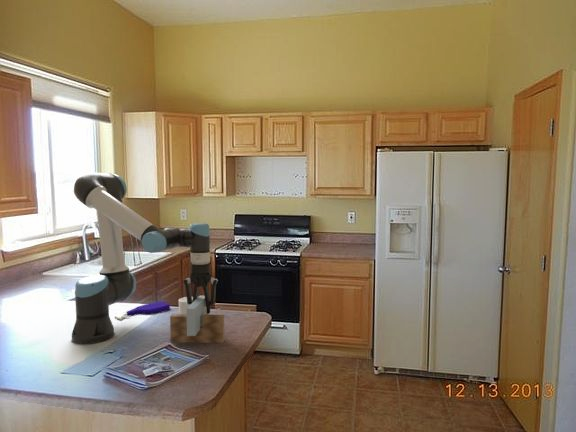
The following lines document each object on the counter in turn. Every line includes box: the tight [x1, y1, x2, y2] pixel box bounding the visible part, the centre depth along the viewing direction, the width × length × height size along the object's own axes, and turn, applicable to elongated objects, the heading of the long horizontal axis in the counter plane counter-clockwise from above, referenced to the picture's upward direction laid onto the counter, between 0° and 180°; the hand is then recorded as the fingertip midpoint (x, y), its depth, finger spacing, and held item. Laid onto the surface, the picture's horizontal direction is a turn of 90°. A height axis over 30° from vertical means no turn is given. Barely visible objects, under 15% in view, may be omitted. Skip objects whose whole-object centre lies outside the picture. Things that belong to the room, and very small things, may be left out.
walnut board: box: [169, 313, 225, 344], centre depth 159 cm, size 20×3×10 cm, turn 87°
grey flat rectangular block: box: [186, 295, 206, 336], centre depth 159 cm, size 3×18×10 cm, turn 177°
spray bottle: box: [114, 301, 171, 321], centre depth 195 cm, size 3×11×24 cm
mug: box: [178, 296, 199, 314], centre depth 179 cm, size 9×12×11 cm
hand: (201, 321), depth 165 cm, fingers closed on grey flat rectangular block, 3 cm apart
